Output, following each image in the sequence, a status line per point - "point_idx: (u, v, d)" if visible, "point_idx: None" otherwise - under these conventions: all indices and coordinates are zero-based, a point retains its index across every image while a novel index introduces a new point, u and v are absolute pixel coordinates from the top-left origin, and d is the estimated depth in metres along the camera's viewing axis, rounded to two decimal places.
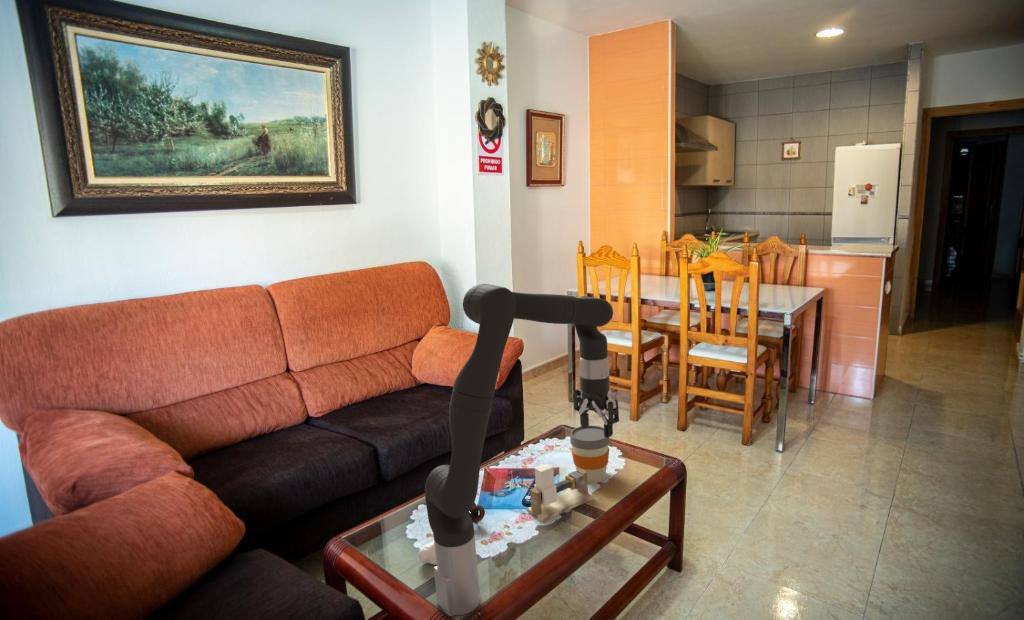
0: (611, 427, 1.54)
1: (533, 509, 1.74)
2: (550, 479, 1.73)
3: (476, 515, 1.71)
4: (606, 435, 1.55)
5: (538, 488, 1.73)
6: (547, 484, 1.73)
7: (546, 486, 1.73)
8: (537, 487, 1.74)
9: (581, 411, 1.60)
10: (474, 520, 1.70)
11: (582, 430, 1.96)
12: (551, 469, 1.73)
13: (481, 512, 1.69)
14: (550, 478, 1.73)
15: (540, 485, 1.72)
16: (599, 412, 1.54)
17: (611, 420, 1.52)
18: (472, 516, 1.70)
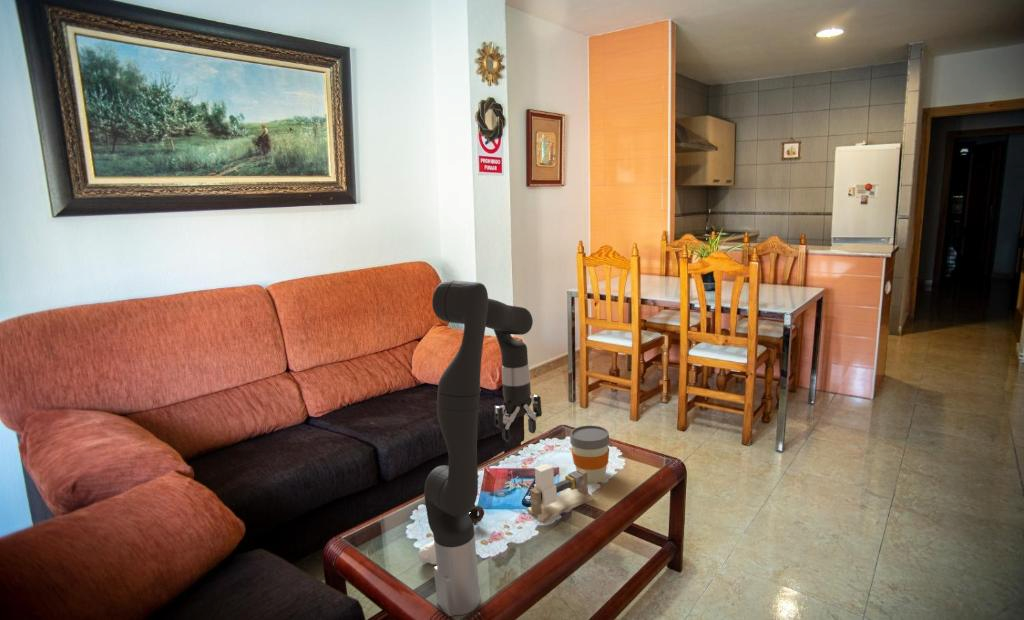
0: None
1: (533, 509, 1.74)
2: (550, 479, 1.73)
3: (475, 516, 1.71)
4: (534, 430, 1.68)
5: (538, 488, 1.73)
6: (547, 484, 1.73)
7: (546, 486, 1.73)
8: (537, 487, 1.74)
9: (508, 424, 1.62)
10: (473, 521, 1.69)
11: (582, 430, 1.96)
12: (551, 469, 1.73)
13: (480, 513, 1.69)
14: (550, 478, 1.73)
15: (540, 485, 1.72)
16: (530, 411, 1.65)
17: (540, 412, 1.68)
18: (471, 517, 1.70)
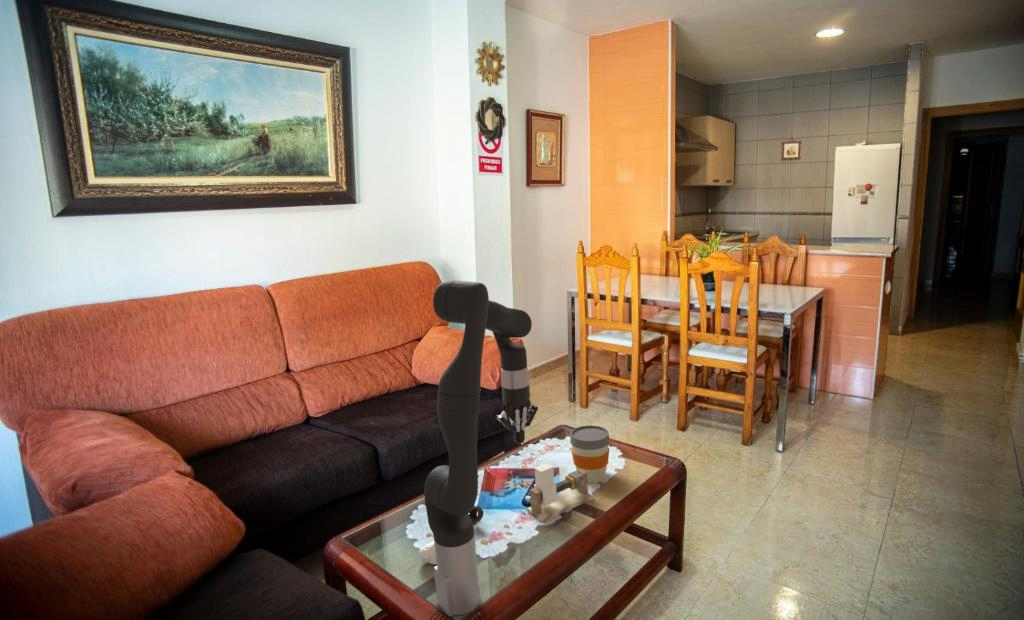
0: None
1: (533, 509, 1.74)
2: (550, 479, 1.73)
3: (474, 516, 1.70)
4: None
5: (538, 488, 1.73)
6: (547, 484, 1.73)
7: (546, 486, 1.73)
8: (537, 487, 1.74)
9: (518, 427, 1.64)
10: (472, 521, 1.69)
11: (582, 430, 1.96)
12: (551, 469, 1.73)
13: (479, 513, 1.69)
14: (550, 478, 1.73)
15: (540, 485, 1.72)
16: (524, 418, 1.64)
17: (529, 421, 1.66)
18: (471, 517, 1.69)
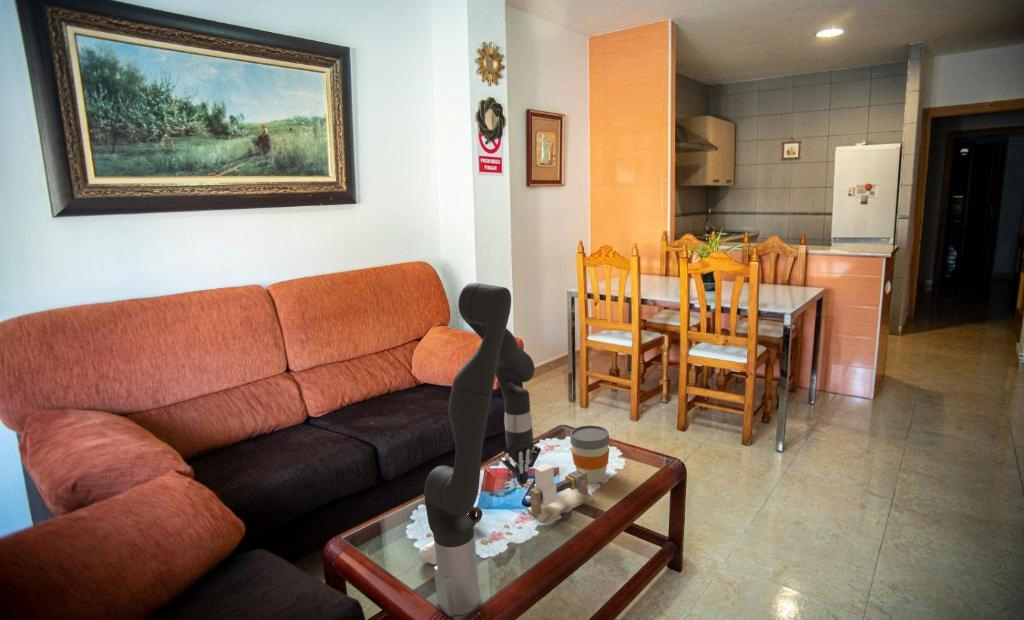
0: None
1: (533, 509, 1.74)
2: (550, 479, 1.73)
3: (473, 517, 1.70)
4: None
5: (538, 488, 1.73)
6: (547, 484, 1.73)
7: (546, 486, 1.73)
8: (537, 487, 1.74)
9: (521, 468, 1.67)
10: None
11: (582, 430, 1.96)
12: (551, 469, 1.73)
13: (478, 514, 1.68)
14: (550, 478, 1.73)
15: (540, 485, 1.72)
16: (528, 460, 1.67)
17: (532, 463, 1.69)
18: None
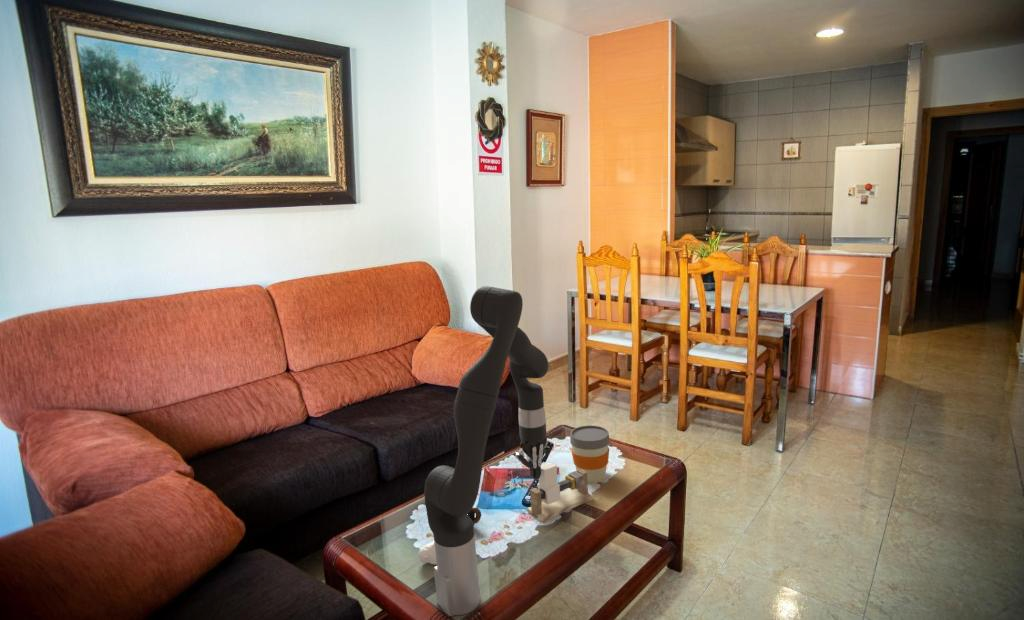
0: None
1: (533, 509, 1.74)
2: (553, 478, 1.74)
3: (472, 517, 1.70)
4: None
5: (541, 487, 1.74)
6: (550, 483, 1.73)
7: (549, 485, 1.73)
8: (540, 486, 1.74)
9: (535, 463, 1.70)
10: None
11: (582, 430, 1.96)
12: (554, 468, 1.73)
13: (477, 514, 1.68)
14: (553, 477, 1.74)
15: (543, 484, 1.73)
16: (541, 455, 1.70)
17: (545, 458, 1.71)
18: None
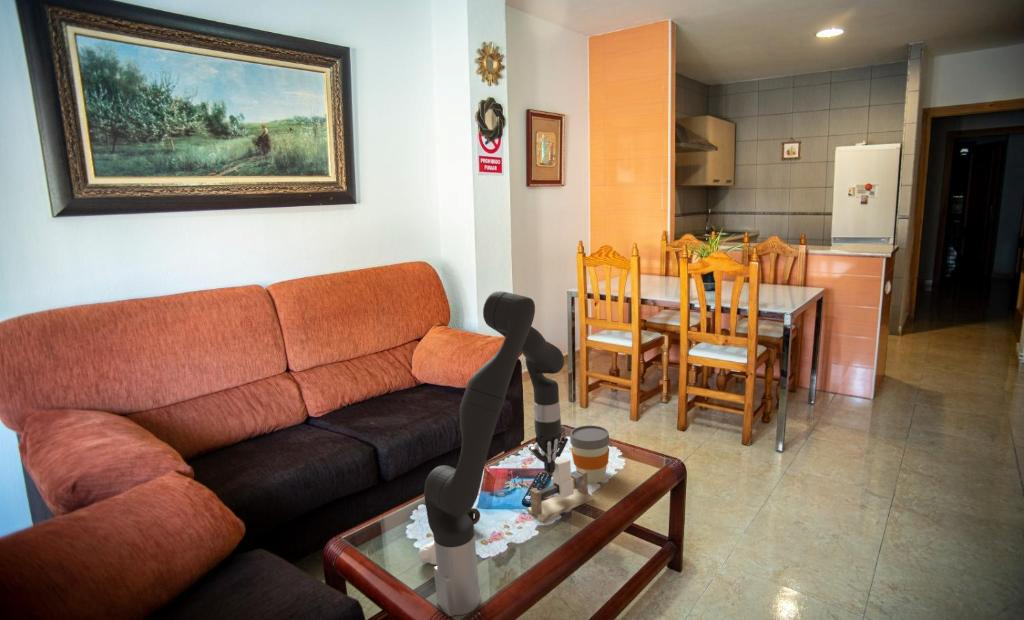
0: None
1: (533, 509, 1.74)
2: (567, 472, 1.76)
3: (471, 518, 1.69)
4: (553, 470, 1.74)
5: (555, 481, 1.77)
6: (564, 477, 1.76)
7: (563, 479, 1.76)
8: (554, 480, 1.77)
9: (549, 458, 1.72)
10: None
11: (582, 430, 1.96)
12: (568, 462, 1.76)
13: (476, 515, 1.68)
14: (567, 471, 1.76)
15: (557, 478, 1.76)
16: (555, 449, 1.73)
17: (559, 452, 1.74)
18: None
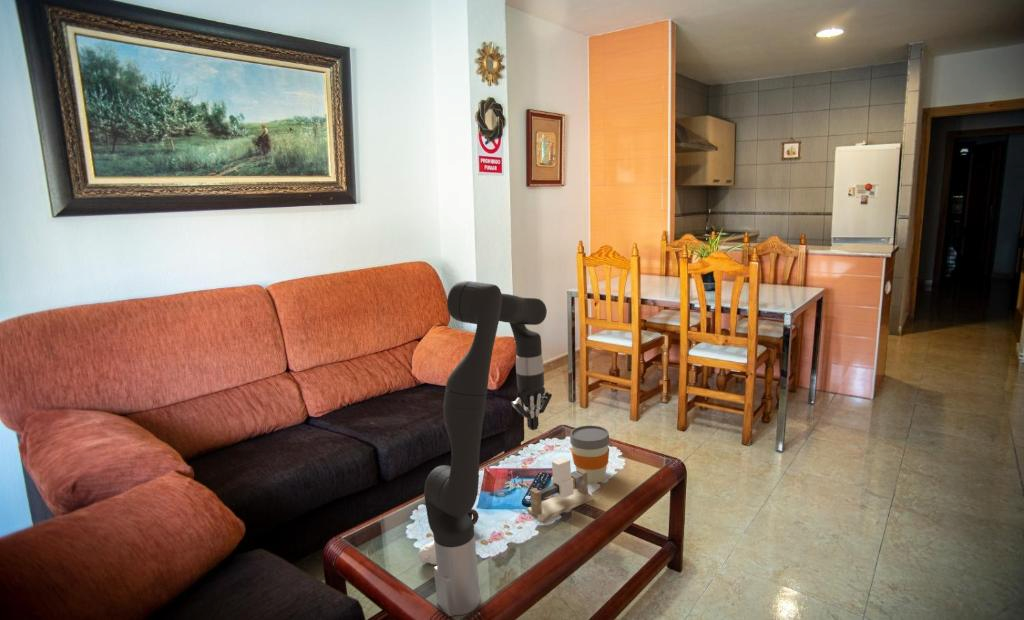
0: None
1: (533, 509, 1.74)
2: (567, 472, 1.76)
3: None
4: None
5: (555, 481, 1.77)
6: (564, 477, 1.76)
7: (563, 479, 1.76)
8: (554, 480, 1.77)
9: (532, 413, 1.67)
10: None
11: (582, 430, 1.96)
12: (568, 462, 1.76)
13: (475, 516, 1.67)
14: (567, 471, 1.76)
15: (557, 478, 1.76)
16: (539, 404, 1.67)
17: (543, 408, 1.68)
18: None
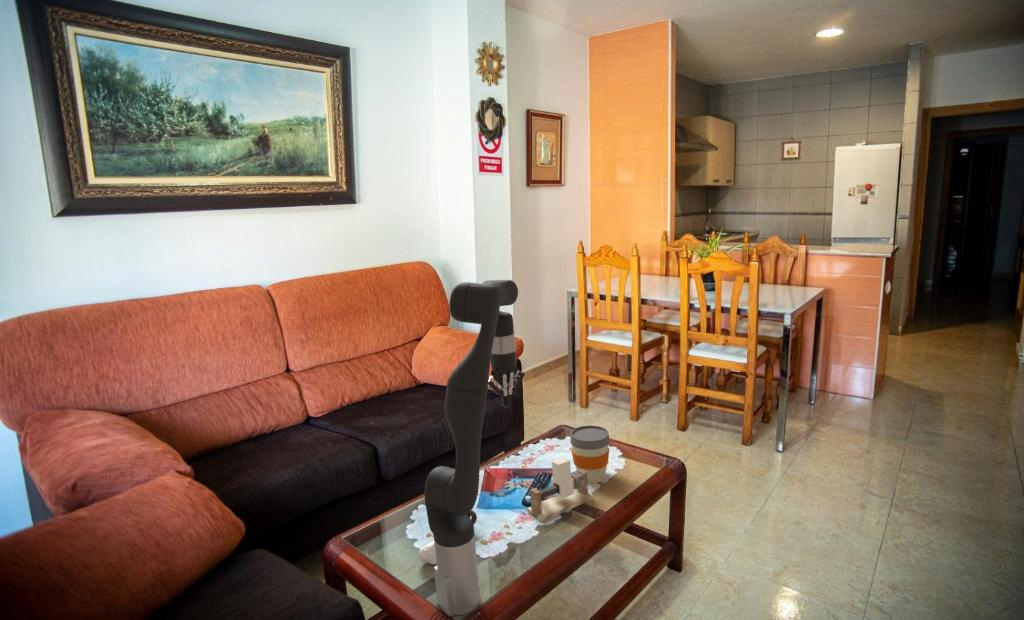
0: None
1: (533, 509, 1.74)
2: (567, 472, 1.76)
3: None
4: (510, 404, 1.75)
5: (555, 481, 1.77)
6: (564, 477, 1.76)
7: (563, 479, 1.76)
8: (554, 480, 1.77)
9: (505, 391, 1.73)
10: None
11: (582, 430, 1.96)
12: (568, 462, 1.76)
13: (473, 517, 1.67)
14: (567, 471, 1.76)
15: (557, 478, 1.76)
16: (512, 383, 1.73)
17: (516, 386, 1.74)
18: None
